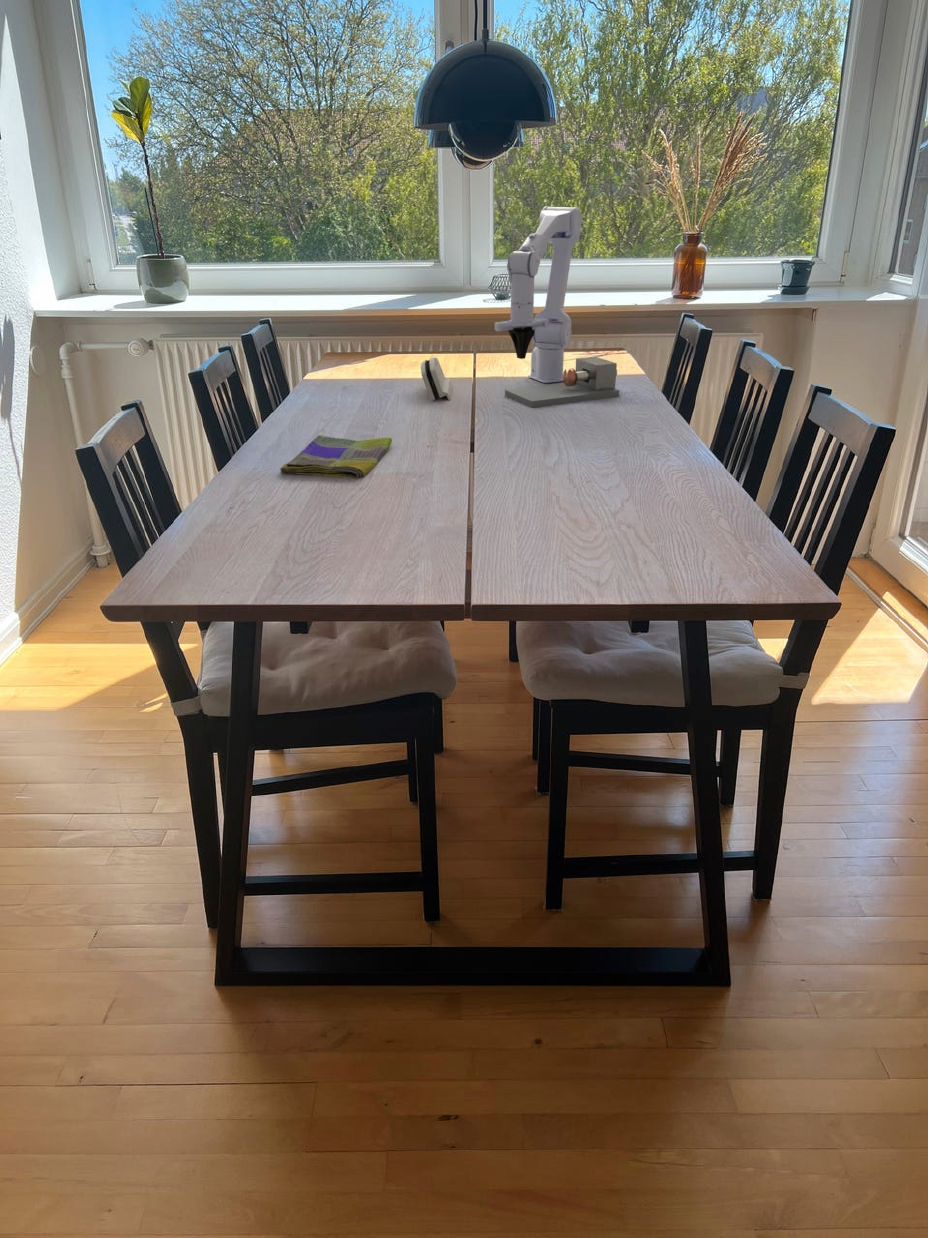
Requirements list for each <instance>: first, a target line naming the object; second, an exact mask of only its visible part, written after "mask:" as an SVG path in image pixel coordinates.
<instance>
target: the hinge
mask: <svg viewBox="0 0 928 1238" xmlns="http://www.w3.org/2000/svg"><path fill="white" fill-rule="evenodd" d="M420 374H421V378H422V380H423V383H424V386H425V388H426V391H427V394H428V396H429V399H430V401H435V400H436V399H437V397H438V398H443V397H445V396H446V397H447V400H448V401H451V398H452V392H453V391H452V390H453V384H452V381H451V379H449V378H446V377H445V373H444V371H443V369H442V366H441V364H440V361H439V359H438V358H437V357H431V358H429V360H428V359H425V360H424V361H422V362H421V363H420Z"/></svg>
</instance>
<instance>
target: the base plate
mask: <svg viewBox="0 0 928 1238" xmlns="http://www.w3.org/2000/svg"><path fill="white" fill-rule="evenodd" d="M504 396H505V397H507V398H508V399H509V398H510V399H512V400H514V401H516V402H518V403H521V404H523V405H525V406H528V407H530V408H537V407H545V406H553V405H559V404H560V405H561V404H566V403H567V404H568V403H570V404H571V403H574V402H575V403H576V402H583V401H584V402H585V401H591V400H599V399H600V400H601V399H606V398H607V399H608V398H615V397H619V396H620V389H617V388H615V389H609V390H601V391H594V390H591V389H588V388H586V387H583V386H580V385H578V384H576V385H575V386H569V387H567V386H566V385H565V384H564V382H561V383H560V382H558V383H553V384H552V383H551V384H550V383H549V384H544V385H536V386H534V385H533V386H526V387H520V388H519V387H517V388H510V389H505V390H504Z"/></svg>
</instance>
